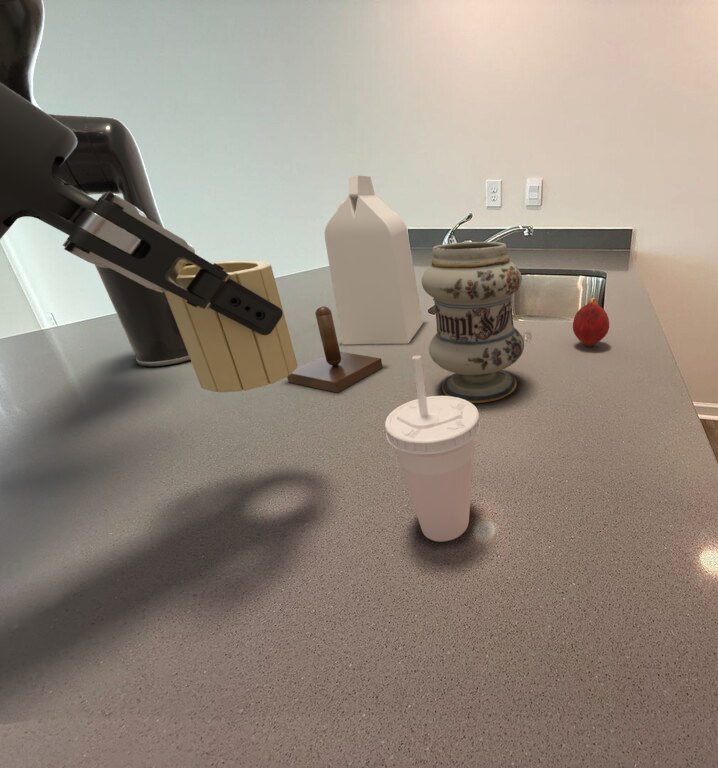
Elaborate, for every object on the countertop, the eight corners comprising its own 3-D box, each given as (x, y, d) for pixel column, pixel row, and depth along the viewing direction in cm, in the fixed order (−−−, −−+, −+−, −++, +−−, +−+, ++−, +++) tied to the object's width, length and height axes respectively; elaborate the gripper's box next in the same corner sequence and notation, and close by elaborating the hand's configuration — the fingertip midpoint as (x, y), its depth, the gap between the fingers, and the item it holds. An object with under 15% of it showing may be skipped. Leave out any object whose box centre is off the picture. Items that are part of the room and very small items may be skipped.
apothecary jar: (474, 362, 62) (465, 237, 54) (541, 380, 55) (543, 241, 48) (414, 392, 53) (394, 247, 45) (486, 417, 46) (477, 254, 39)
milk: (408, 343, 70) (385, 174, 59) (342, 344, 70) (306, 175, 59) (423, 322, 81) (405, 176, 70) (365, 323, 81) (339, 178, 70)
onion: (607, 353, 64) (611, 303, 60) (570, 351, 65) (572, 302, 61) (607, 341, 69) (611, 294, 66) (573, 339, 70) (575, 293, 67)
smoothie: (409, 498, 34) (384, 342, 28) (485, 492, 35) (476, 338, 29) (396, 559, 29) (361, 380, 23) (487, 552, 29) (476, 374, 23)
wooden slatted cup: (181, 383, 30) (136, 273, 27) (260, 353, 35) (231, 258, 32) (239, 398, 28) (198, 280, 24) (314, 364, 33) (289, 263, 29)
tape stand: (288, 382, 56) (268, 312, 52) (337, 359, 64) (323, 296, 60) (337, 392, 53) (320, 318, 49) (382, 367, 61) (371, 301, 56)
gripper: (-83, 0, 14) (327, 286, 27) (-35, 76, 23) (255, 263, 36) (-248, 172, 13) (262, 385, 26) (-130, 181, 22) (204, 335, 35)
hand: (257, 313), depth 31 cm, fingers closed on wooden slatted cup, 6 cm apart
